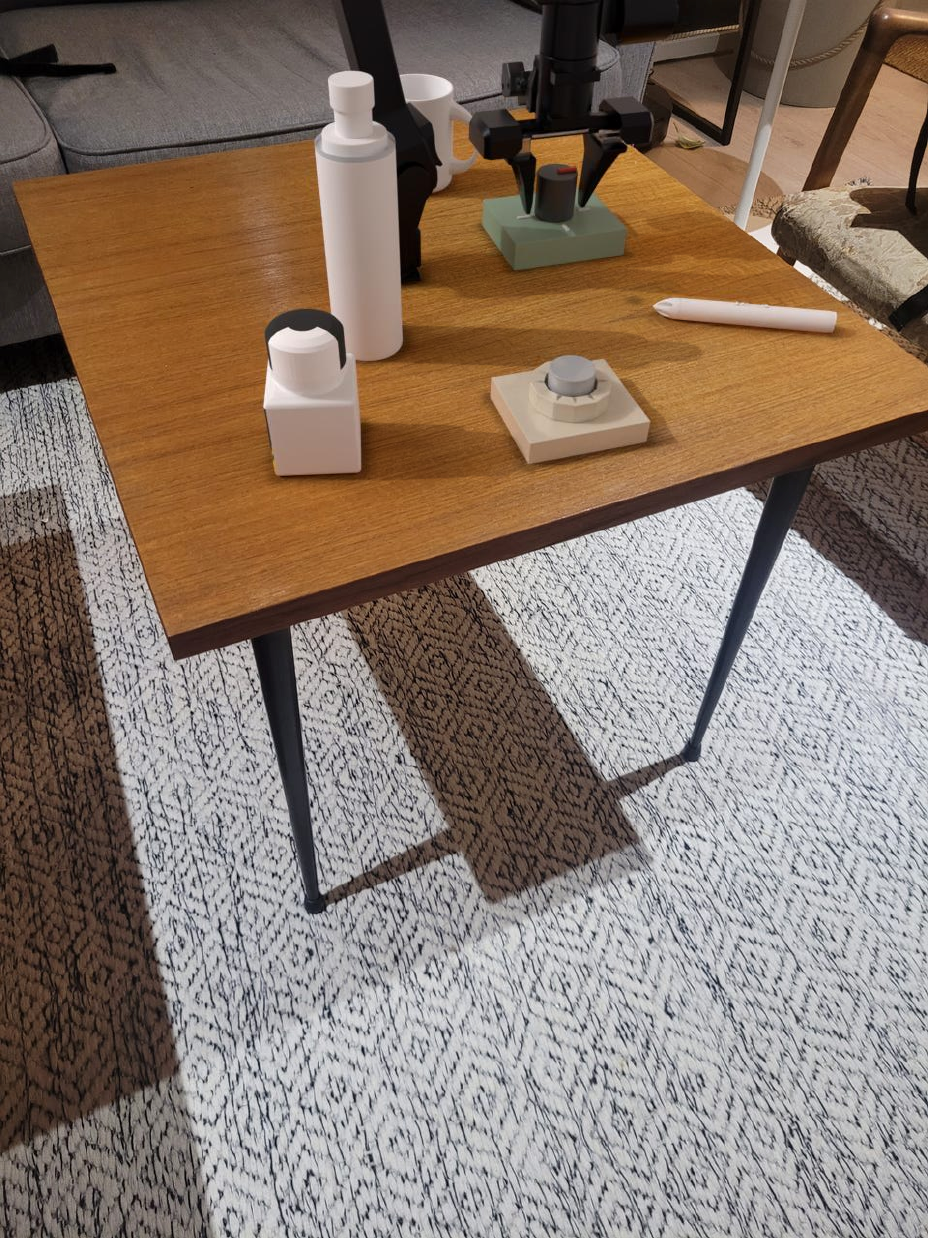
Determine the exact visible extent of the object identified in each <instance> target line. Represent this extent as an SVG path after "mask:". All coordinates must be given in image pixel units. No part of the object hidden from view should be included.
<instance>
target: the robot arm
mask: <svg viewBox="0 0 928 1238" xmlns="http://www.w3.org/2000/svg"><path fill="white" fill-rule="evenodd" d="M330 1H331V4H332V7H333V12H334V15H335V19H336V23H337V25H338V30H339V33H340V37H341V41H342V43H343V48H344V53H345V55H346V58H347V62H348V66H349V69H350V70H349V71H360V72H364V73H367V74H369V75H371V76H372V77H373V82H374V101H375V104H374V107H373V108H372V121H374V122H377V123H379V124H381V125H383V126H384V127H385V128H386V130H387V131H388V132H390V133H391V134H392V135H393V136H394V138H395V143H394V144H395V148H396V172H397V196H398V222H399V249H400V276H401V285H403V284H409V283H410V284H411V283H417V282H418V283H419V282H421V281H422V273H421V272H420V271H419V269H420V268H421V266H422V230H421V229H420V227H419V226H420V222H421V219H422V216H423V213H424V210H425V207H426V203H427V201H428V200H429V198H430V197H431V196H432V195H433V193H432V192H433V190H434V189H435V188H436V187H437V182H438V175H437V168H436V166H442V162H441V161H440V159H439V158H438V156H437V153H436V150H435V139H434V130H433V125H432V123H431V122H430V121H429V120H428V119H427V118H426V117H425V116H424V115H423V114H422V113H421V112H420V111H419V110H418V109H417V108H416V107H415V106H414V105H413V104H412V103H411V102H409V103H407V104H406V101H405V97H404V92H403V88H402V84H401V80H400V75H401V74H400V71H399V68H398V64H397V63H398V62H397V60H396V58H397V57H396V55H395V51H394V50H395V49H394V45H393V42H392V38H391V32H390V30H389V24H388V20H387V15H386V13H385V8H384V4H383V3H384V2H383V0H330ZM531 1H532V2H533V3H534V4H536V5H538V6H542V12H541V15H542V16H541V27H540V28H541V29H540V41H539V42H540V43H539V52H538V53H539V54H535V55H534V59H533V60H532V61H533V63H532V70H525V69H526V68H525V64H524V62H523V60H521V61H510V62H502V65H501V76H500V77H501V78H500V85H501V87H500V88H501V95H502V97H503V98H505V99H506V98H514V97H516V98H517V106H518V107H523V106H525V110H526V111H527V112H528V113H529V114H534V118H527V119H516V118H515V117H514V116H513V115H512V114H511V112H510V111H509V110H508V109H507V108H502V109H501V108H500V109H490V110H482V111H475V112H474V113H473V115H472V118H471V120H470V122H469V126H468V140H469V142H470V143H471V144H472V145H473V147H474V149H477V151H478V154H480V156H481V157H482V159H484V160H487V161H499V160H504V162H505V163H506V164H507V165H509V166H510V167H511V169H512V172H513V175H514V179H515V183H516V187H517V190H518V195H520V198H521V202H522V206H523V209H524V212H525V213H526V214H530V213H531V208H532V204H533V195H534V193H535V184H536V182H535V181H536V173H537V157H536V156H535V155H534V154H533V153H532V152H531V145H532V144H531V143H532V141H537V140H546V139H554V138H563V137H573V136H582V143H583V156H582V163H581V169H580V176H579V182H578V187H577V188H578V205H579V206H580V207H581V208H582V207H585V205H586V204H587V202H588V200H589V199H590V197H591V195H592V194H593V192H594V193H595V191H596V189H597V187H598V185H599V183H600V182H601V181H602V179H603V178H604V176H605V174H606V173H607V172H608V171H609V169H610V167H612V165H613V164H614V163H615V161H616V160H617V159H618V157H619V156H620V155H621V154H625V153H627V151H628V146H629V145H640V144H648V143H650V142H652V140H653V134H654V127H655V120H654V115H653V113H652V112H651V111H650V110H649V109H648V108H647V107H646V106H645V105H643V104H642V103H641V102H640V101H639V100H638V99H637V98H635V97H634V96H633V95H630V96H629V95H627V96H620V97H619V96H618V97H610V98H603V99H602V100H601V102H600V103H599V105H598V111H592V107H593V98H594V91H595V83H597V82H598V83H599V82H601V77H602V69H601V68H599V66H598V65H597V63H598V55H599V45H600V37H601V36H603V38H604V40H605V41H606V43H607V44H608V45H609V46H610V47H621V46H628V45H635V44H637V45H638V44H644V43H651V42H660V41H664V40H667V39H668V38H669V37H670V36H671V35H672V33H673V32H674V29H675V28H676V25H677V21H678V18H679V9H680V7H679V5H678V0H531ZM390 139H391V138H390ZM391 140H392V139H391ZM392 141H393V140H392ZM393 142H394V141H393Z"/></svg>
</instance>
